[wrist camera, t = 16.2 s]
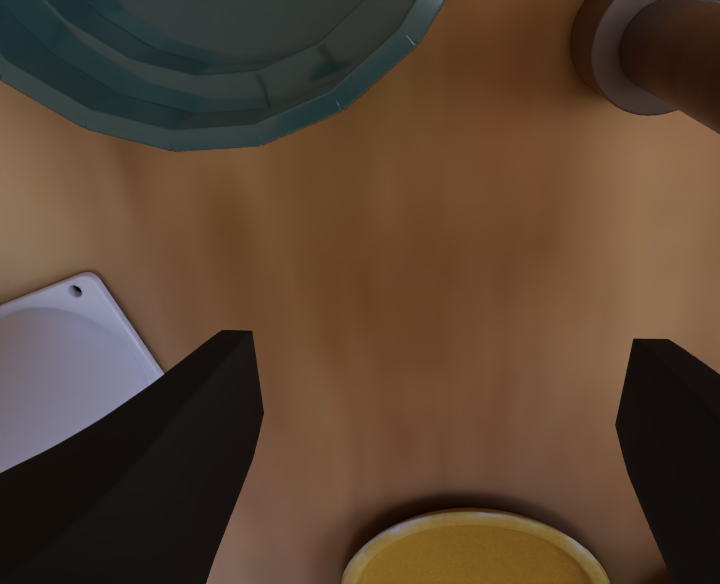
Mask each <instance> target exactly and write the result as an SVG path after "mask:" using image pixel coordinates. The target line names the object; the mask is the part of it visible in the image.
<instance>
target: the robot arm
mask: <svg viewBox="0 0 720 584" xmlns="http://www.w3.org/2000/svg"><path fill="white" fill-rule="evenodd" d="M74 285H75V286H77V287H79V288H80V289H81V291H82V293H81V292H78V291H77V290H76V289H75V288H74ZM263 415H264V410H263V403H262V396H261V389H260V382H259V375H258V368H257V361H256V354H255V347H254V340H253V333H252V331H244V330H222V331H220V332H219V333H217V334H216V335H214V336H213V337H212V338H210V339H209V340H208V341H206V342H205V343H204V344H202V345H201V346H200V347H199V348H197V349H196V350H195V351H193V352H192V353H191V354H190V355H188V356H187V357H186V358H185V359H183V360H182V361H181V362H179V363H178V364H177V365H175V366H174V367H173V368H172V369H170V370H169V371H168V372H166V373H165V374H164V373H163V371H162V370H161V368H160V367H159V365H158V364H157V362H156V361H155V359H154V358H153V356H152V355H151V353H150V352H149V350H148V349H147V348H146V346H145V345H144V343H143V342H142V340H141V339H140V337H139V336H138V334H137V333H136V331H135V330H134V328H133V327H132V325H131V324H130V322H129V321H128V320H127V318H126V317H125V315H124V314H123V312H122V311H121V309H120V308H119V306H118V305H117V303H116V302H115V300H114V299H113V297H112V296H111V294H110V293H109V292H108V290H107V289H106V287H105V286H104V284H103V283H102V281H101V280H100V279H99V277H98V276H97V275H95V274H93V273H90V272H82V273H80V274H77V275H75V276H72V277H70V278H67V279H65V280H62V281H59V282H57V283H54V284H52V285H49V286H47V287H44V288H42V289H39V290H37V291H34V292H31V293H29V294H26V295H24V296H21V297H19V298H16V299H14V300H11V301H8V302H6V303H3V304H1V305H0V584H206V582H207V579H208V576H209V573H210V570H211V567H212V564H213V561H214V558H215V555H216V553H217V550H218V548H219V545H220V543H221V540H222V537H223V535H224V532H225V530H226V527H227V525H228V522H229V519H230V517H231V514H232V512H233V509H234V507H235V504H236V502H237V499H238V496H239V494H240V491H241V489H242V486H243V483H244V481H245V478H246V476H247V473H248V470H249V468H250V465H251V462H252V460H253V457H254V453H255V449H256V445H257V441H258V437H259V432H260V428H261V423H262V419H263ZM615 426H616V430H617V434H618V438H619V442H620V446H621V450H622V454H623V458H624V461H625V465H626V469H627V472H628V475H629V478H630V480H631V483H632V485H633V488H634V490H635V493H636V495H637V497H638V500H639V502H640V505H641V507H642V510H643V512H644V514H645V517H646V519H647V522H648V524H649V526H650V529H651V531H652V533H653V536H654V538H655V541H656V543H657V545H658V548H659V550H660V552H661V555H662V557H663V560H664V562H665V564H666V567H667V569H668V572H669V574H670V576H671V579H672V581H673V583H674V584H720V374H718V373H717V372H716V371H714V370H713V369H711V368H710V367H709V366H707V365H706V364H704V363H703V362H702V361H700V360H699V359H697V358H696V357H694V356H693V355H692V354H690V353H689V352H687V351H686V350H684V349H683V348H681V347H680V346H678V345H677V344H675V343H674V342H672V341H670V340H669V339H633V343H632V348H631V353H630V358H629V362H628V367H627V372H626V377H625V381H624V386H623V391H622V396H621V400H620V405H619V410H618V414H617V419H616V424H615Z"/></svg>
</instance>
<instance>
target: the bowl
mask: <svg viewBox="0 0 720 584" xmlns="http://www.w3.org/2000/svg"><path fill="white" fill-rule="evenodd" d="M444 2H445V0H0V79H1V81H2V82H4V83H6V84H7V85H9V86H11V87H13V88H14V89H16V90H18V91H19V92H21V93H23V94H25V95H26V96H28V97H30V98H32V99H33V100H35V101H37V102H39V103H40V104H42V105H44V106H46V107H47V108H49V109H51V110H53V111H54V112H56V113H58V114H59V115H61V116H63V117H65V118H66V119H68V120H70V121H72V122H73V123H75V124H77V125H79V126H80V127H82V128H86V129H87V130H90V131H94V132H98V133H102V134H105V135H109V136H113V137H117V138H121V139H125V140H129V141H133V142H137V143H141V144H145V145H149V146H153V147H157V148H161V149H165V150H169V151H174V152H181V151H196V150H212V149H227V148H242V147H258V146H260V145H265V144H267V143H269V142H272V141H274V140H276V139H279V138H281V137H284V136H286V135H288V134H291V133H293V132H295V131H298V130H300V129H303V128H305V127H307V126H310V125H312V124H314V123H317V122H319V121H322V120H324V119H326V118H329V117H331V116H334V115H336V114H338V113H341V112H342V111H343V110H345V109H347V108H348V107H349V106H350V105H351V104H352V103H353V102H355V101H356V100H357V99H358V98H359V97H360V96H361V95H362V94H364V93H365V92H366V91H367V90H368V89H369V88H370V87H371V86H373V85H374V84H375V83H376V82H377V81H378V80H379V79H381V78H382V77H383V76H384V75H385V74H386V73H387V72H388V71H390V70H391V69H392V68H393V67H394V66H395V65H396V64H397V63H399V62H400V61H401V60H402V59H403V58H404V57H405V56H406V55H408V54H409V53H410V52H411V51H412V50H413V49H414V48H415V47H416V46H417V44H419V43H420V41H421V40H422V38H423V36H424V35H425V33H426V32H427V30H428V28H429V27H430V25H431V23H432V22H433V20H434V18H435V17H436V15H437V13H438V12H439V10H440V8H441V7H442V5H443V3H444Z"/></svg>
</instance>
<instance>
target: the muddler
mask: <svg viewBox="0 0 720 584" xmlns="http://www.w3.org/2000/svg"><path fill="white" fill-rule="evenodd" d="M571 54H572V59H573V62H574V65H575V68H576V70H577V72H578V74H579V75H580V77H581V78H582V79H583V81H584V82H585V83H586V84H587V85H588V86H590V87H591V88H592V89H594V90H595V91H596V92H597V93H599V94H600V95H601V96H603V97H604V98H605V99H607V100H608V101H609V102H610V103H612V104H613V105H614V106H616V107H618V108H620V109H621V110H623V111H626V112H629V113H632V114H637V115H646V116H651V115H661V114H666V113H670V112H673V111H676V110H680V111H681V112H683V113H685V114H686V115H688V116H690V117H692V118H693V119H695V120H697V121H698V122H700V123H702V124H703V125H705V126H707V127H708V128H710V129H712V130H714V131H715V132H717V133H719V134H720V0H585V1H584V3H583V5H582V7H581V8H580V10H579V12H578V14H577V17H576V19H575V22H574V25H573V30H572V35H571Z"/></svg>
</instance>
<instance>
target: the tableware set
mask: <svg viewBox="0 0 720 584" xmlns="http://www.w3.org/2000/svg"><path fill="white" fill-rule="evenodd" d="M341 584H610V581H609V579H608V577H607V575H606V572H605V571H604V569H603V568H602V566H601V565H600V563H599V562H598V561H597V560H596V559H595V557H594V556H593V555H592V554H591V553H590V552H589V551H588V550H587V549H586V548H584V547H583V546H582V545H581V544H579V543H578V542H576V541H575V540H574V539H572V538H571V537H569V536H568V535H566V534H565V533H563V532H561V531H559V530H558V529H556V528H554V527H552V526H549V525H547V524H545V523H543V522H540V521H537V520H534V519H531V518H529V517H525V516H522V515H519V514H516V513H512V512H507V511H502V510H496V509H491V508H474V507H467V508H451V509H444V510H438V511H432V512H428V513H425V514H421V515H418V516H414V517H412V518H410V519H407V520H405V521H403V522H400V523H398V524H395V525H393V526H391V527H389V528H387V529H386V530H384V531H382V532H381V533H379V534H378V535H376V536H375V537H374V538H372V539H371V540H370V541H368V542H367V543H366V544H365V545H364V546H363V547H362V548H361V549H360V550H359V551H358V552H357V553H356V554H355V556H354V557H353V558H352V559H351V561H350V562H349V564H348V566H347V568H346V569H345V571H344V573H343V576H342V580H341Z"/></svg>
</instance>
